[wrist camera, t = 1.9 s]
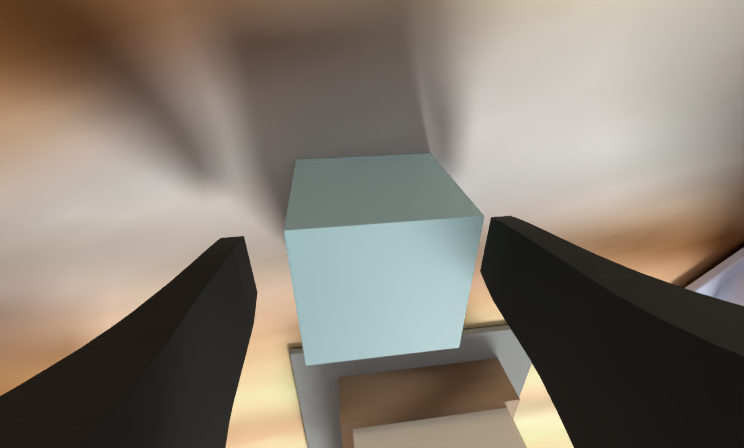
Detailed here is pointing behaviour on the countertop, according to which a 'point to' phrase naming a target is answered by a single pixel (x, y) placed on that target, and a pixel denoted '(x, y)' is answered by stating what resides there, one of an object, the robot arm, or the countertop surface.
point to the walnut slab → (423, 394)
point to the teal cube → (379, 255)
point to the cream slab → (445, 432)
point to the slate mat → (322, 379)
